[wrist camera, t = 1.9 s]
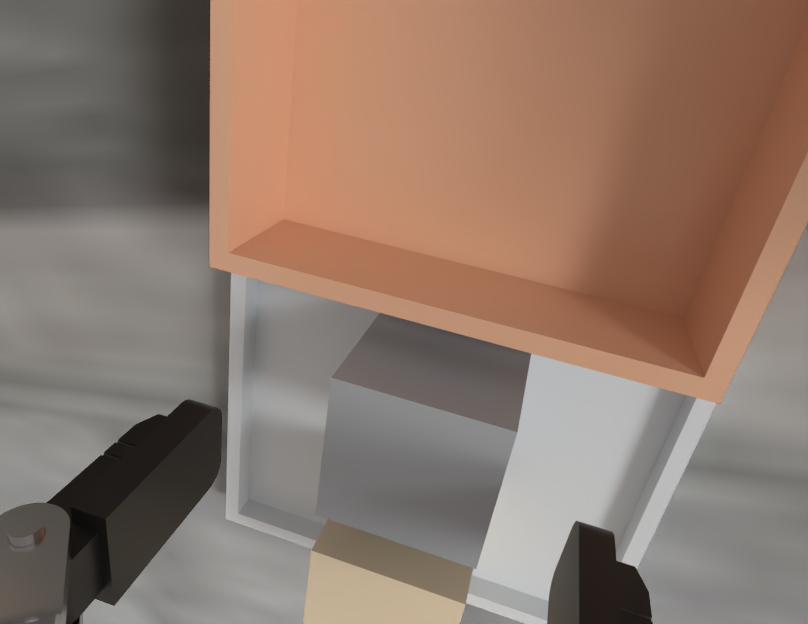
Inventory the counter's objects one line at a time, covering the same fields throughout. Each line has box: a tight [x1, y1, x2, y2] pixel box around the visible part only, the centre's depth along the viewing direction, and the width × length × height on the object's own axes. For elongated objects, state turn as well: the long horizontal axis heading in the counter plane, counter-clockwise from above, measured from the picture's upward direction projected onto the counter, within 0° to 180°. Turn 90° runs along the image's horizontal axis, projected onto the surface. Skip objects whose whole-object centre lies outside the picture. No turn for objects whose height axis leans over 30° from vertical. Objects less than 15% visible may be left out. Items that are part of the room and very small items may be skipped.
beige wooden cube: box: [303, 519, 473, 624], centre depth 18 cm, size 4×4×5 cm
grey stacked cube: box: [315, 313, 531, 569], centre depth 16 cm, size 4×4×5 cm
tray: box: [226, 273, 717, 624], centre depth 19 cm, size 14×12×1 cm
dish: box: [209, 0, 808, 404], centre depth 13 cm, size 12×11×4 cm
